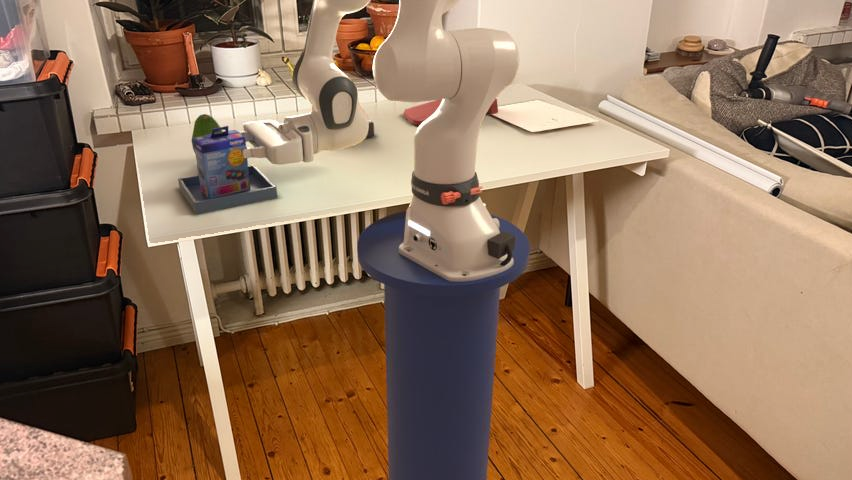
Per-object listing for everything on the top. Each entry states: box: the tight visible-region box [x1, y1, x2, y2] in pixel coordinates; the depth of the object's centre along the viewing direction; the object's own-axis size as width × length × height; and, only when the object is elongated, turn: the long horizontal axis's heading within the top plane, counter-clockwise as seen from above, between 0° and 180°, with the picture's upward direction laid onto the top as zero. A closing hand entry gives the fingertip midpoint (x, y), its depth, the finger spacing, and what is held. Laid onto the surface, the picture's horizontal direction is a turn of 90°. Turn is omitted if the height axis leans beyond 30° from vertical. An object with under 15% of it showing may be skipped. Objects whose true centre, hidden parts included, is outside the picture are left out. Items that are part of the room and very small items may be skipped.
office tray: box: [177, 164, 278, 215], centre depth 150 cm, size 15×17×2 cm
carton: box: [403, 98, 499, 127], centre depth 196 cm, size 12×5×25 cm
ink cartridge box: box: [193, 125, 250, 199], centre depth 147 cm, size 10×6×14 cm, turn 124°
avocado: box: [191, 113, 224, 153], centre depth 164 cm, size 8×8×12 cm
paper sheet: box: [486, 99, 599, 133], centre depth 194 cm, size 24×29×1 cm
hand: (235, 147), depth 147 cm, fingers open, 8 cm apart
